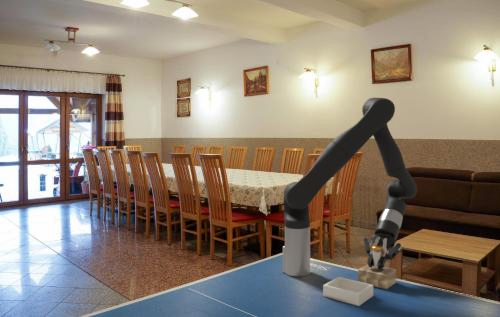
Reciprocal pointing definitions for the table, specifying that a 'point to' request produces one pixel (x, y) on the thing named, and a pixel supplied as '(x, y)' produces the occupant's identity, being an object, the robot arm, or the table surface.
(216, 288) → the table surface
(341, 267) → the table surface
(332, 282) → the tray
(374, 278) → the block
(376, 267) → the lock pin
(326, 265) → the table surface
